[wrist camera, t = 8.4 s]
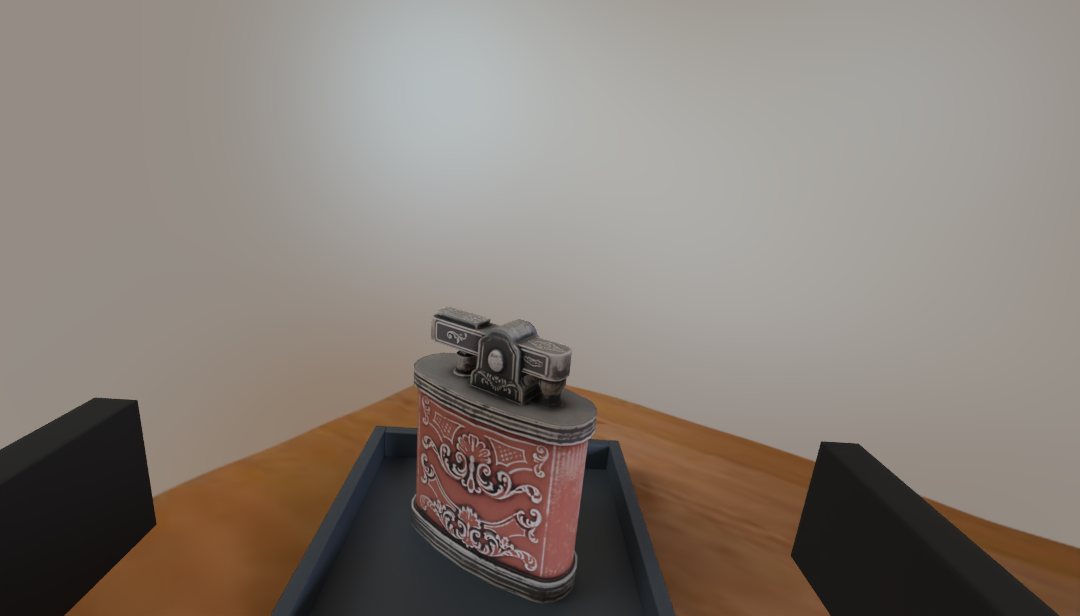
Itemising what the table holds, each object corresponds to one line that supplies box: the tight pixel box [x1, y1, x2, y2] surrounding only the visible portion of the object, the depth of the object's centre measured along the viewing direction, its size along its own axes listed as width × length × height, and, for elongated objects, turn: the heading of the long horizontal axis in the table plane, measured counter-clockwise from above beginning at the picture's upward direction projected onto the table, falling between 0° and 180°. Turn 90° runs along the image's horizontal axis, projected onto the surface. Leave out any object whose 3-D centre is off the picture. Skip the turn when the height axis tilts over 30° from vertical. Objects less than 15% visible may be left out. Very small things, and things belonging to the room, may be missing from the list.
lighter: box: [411, 307, 597, 603], centre depth 20 cm, size 8×3×10 cm, turn 57°
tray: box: [271, 426, 675, 616], centre depth 22 cm, size 13×13×2 cm
